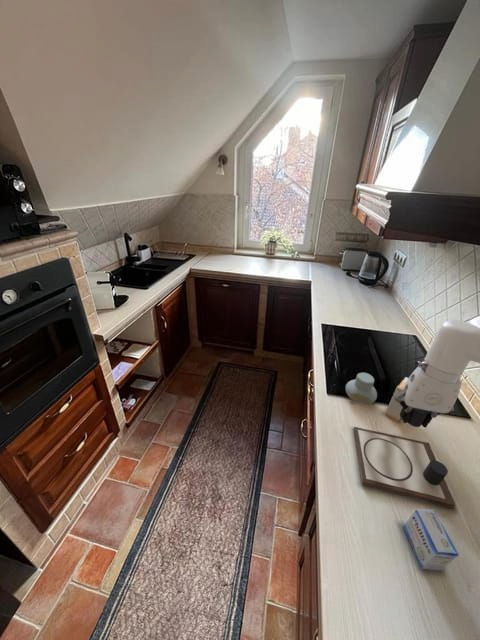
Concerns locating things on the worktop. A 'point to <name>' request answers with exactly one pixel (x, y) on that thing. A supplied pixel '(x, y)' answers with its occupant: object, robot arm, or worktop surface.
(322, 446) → the worktop surface
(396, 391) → the supplement box
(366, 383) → the air freshener
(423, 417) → the cylinder
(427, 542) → the medicine box
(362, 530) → the worktop surface
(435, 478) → the cylinder
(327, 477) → the worktop surface
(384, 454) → the sketch board
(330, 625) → the worktop surface
